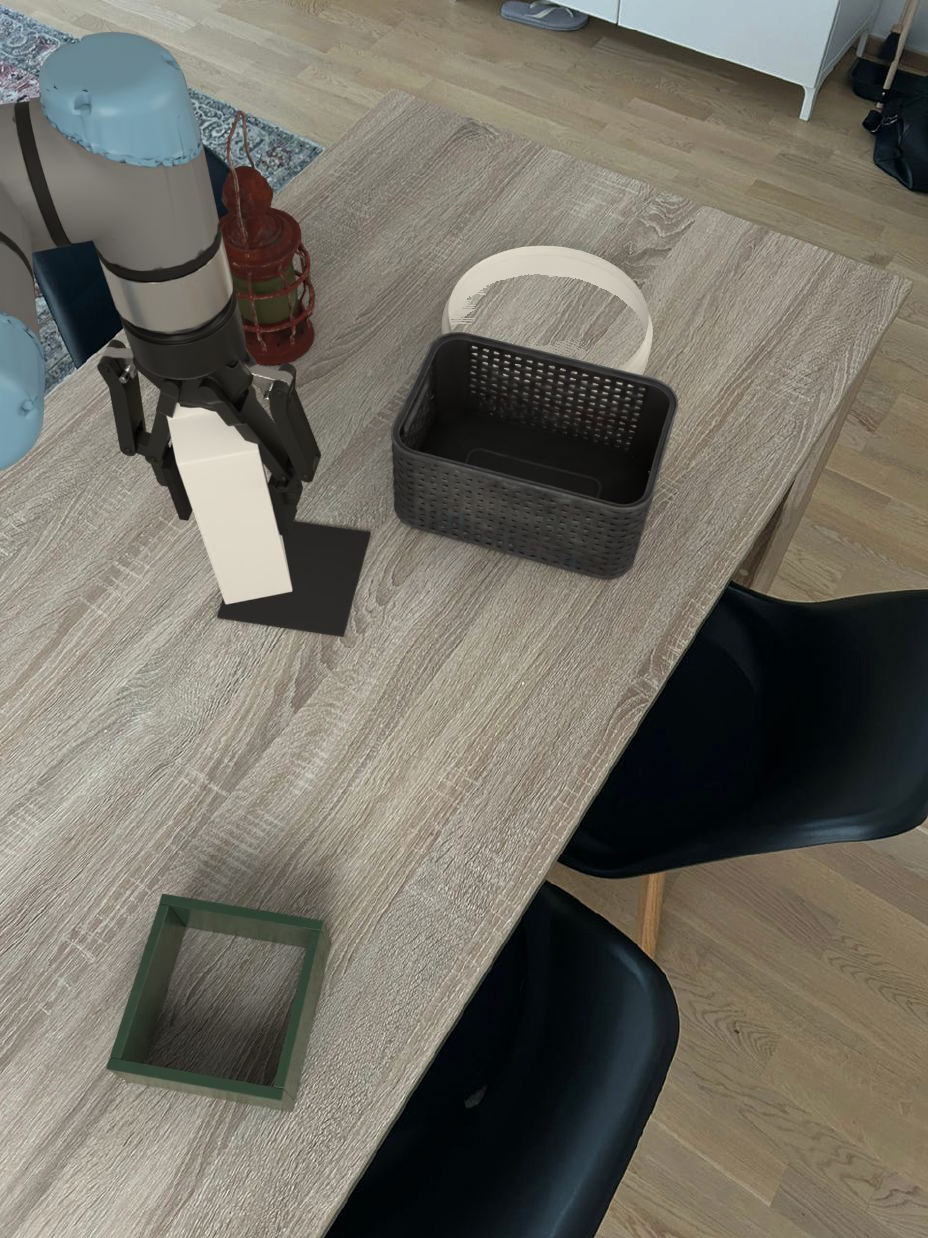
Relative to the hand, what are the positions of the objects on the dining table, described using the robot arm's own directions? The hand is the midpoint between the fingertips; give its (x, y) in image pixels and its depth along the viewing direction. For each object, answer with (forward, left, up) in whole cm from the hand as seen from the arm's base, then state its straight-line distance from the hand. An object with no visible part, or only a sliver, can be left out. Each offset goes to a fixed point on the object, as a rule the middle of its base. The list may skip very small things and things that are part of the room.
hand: (238, 514), depth 86 cm
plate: (+21, +54, -28) cm, 64 cm away
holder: (+4, -33, -28) cm, 43 cm away
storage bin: (+22, +29, -28) cm, 46 cm away
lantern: (-14, +49, -28) cm, 58 cm away
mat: (-2, +13, -28) cm, 30 cm away
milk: (0, 0, -8) cm, 8 cm away
